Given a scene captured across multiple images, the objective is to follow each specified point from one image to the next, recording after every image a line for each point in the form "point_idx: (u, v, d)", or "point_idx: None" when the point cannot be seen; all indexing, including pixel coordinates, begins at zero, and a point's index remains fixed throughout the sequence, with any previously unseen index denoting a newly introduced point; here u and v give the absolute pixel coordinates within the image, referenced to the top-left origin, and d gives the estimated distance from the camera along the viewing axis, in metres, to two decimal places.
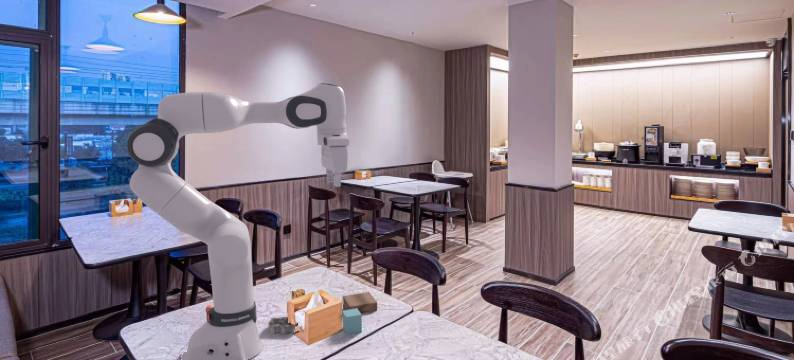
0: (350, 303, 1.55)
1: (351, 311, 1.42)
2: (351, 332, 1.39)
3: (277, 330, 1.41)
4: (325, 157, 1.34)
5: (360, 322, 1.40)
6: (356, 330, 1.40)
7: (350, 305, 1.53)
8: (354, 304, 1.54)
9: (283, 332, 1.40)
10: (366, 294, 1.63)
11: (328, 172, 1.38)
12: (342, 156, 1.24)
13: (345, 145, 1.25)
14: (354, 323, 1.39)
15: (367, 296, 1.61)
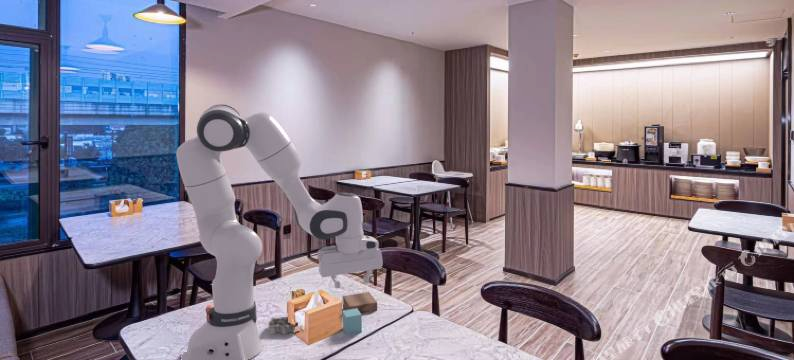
0: (350, 303, 1.55)
1: (351, 311, 1.42)
2: (351, 332, 1.39)
3: (277, 330, 1.41)
4: (344, 263, 1.36)
5: (360, 322, 1.40)
6: (356, 330, 1.40)
7: (350, 305, 1.53)
8: (354, 304, 1.54)
9: (284, 332, 1.40)
10: (366, 294, 1.63)
11: (334, 278, 1.37)
12: None
13: None
14: (354, 323, 1.39)
15: (367, 296, 1.61)
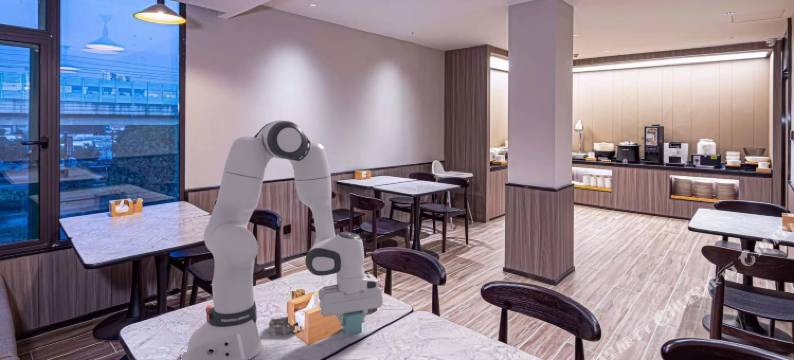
0: None
1: None
2: (351, 332, 1.39)
3: (278, 331, 1.41)
4: (344, 303, 1.38)
5: (360, 322, 1.40)
6: (356, 330, 1.40)
7: None
8: None
9: (284, 332, 1.40)
10: None
11: (339, 317, 1.39)
12: None
13: None
14: (354, 323, 1.39)
15: None
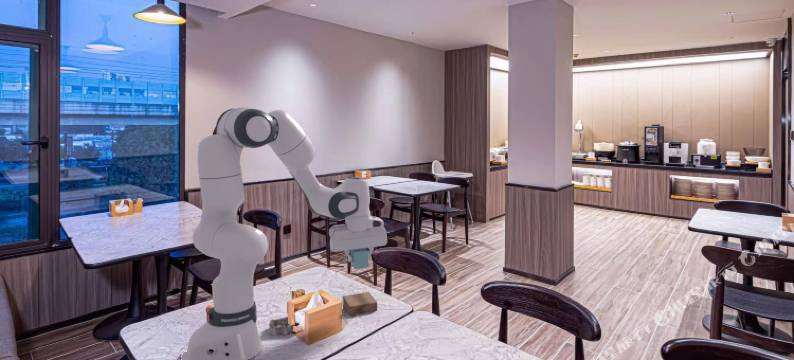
0: (350, 303, 1.55)
1: None
2: (359, 266, 1.53)
3: (278, 331, 1.40)
4: (352, 240, 1.52)
5: (367, 258, 1.54)
6: (363, 265, 1.54)
7: (350, 305, 1.53)
8: (354, 304, 1.54)
9: (285, 332, 1.40)
10: (366, 294, 1.63)
11: None
12: None
13: None
14: (361, 258, 1.53)
15: (367, 296, 1.61)
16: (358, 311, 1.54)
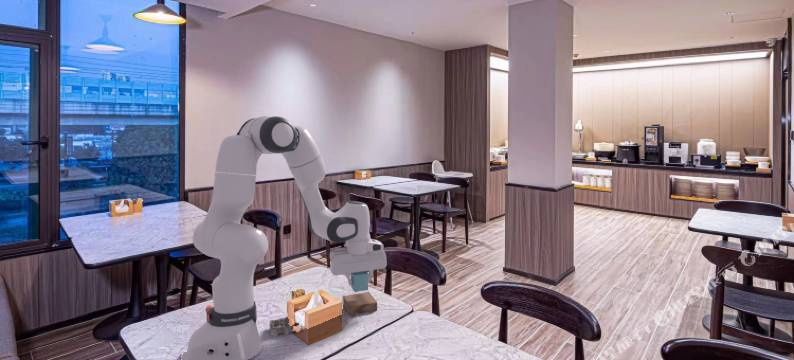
0: (350, 303, 1.55)
1: None
2: (358, 289, 1.56)
3: (279, 331, 1.40)
4: (353, 263, 1.54)
5: (366, 281, 1.56)
6: (363, 288, 1.56)
7: (350, 305, 1.53)
8: (354, 304, 1.54)
9: (286, 333, 1.40)
10: (366, 294, 1.63)
11: None
12: None
13: None
14: (361, 281, 1.55)
15: (367, 296, 1.61)
16: (358, 311, 1.54)
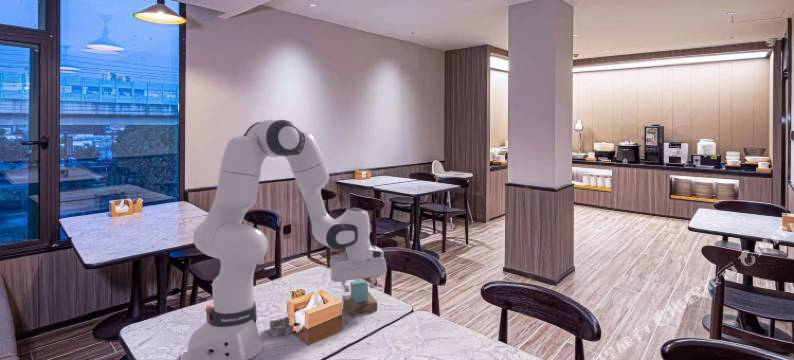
0: (350, 303, 1.55)
1: (359, 282, 1.59)
2: (358, 300, 1.56)
3: (280, 332, 1.40)
4: (353, 270, 1.54)
5: (366, 291, 1.56)
6: (363, 298, 1.56)
7: (350, 305, 1.53)
8: (354, 304, 1.54)
9: (287, 333, 1.40)
10: None
11: None
12: None
13: None
14: (361, 292, 1.56)
15: None
16: (358, 311, 1.54)
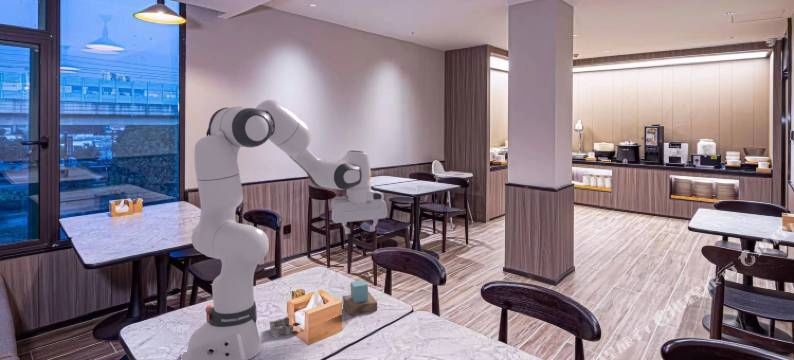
0: (350, 303, 1.55)
1: (359, 282, 1.59)
2: (358, 300, 1.56)
3: (280, 332, 1.40)
4: (353, 212, 1.57)
5: (366, 291, 1.56)
6: (363, 298, 1.56)
7: (350, 305, 1.53)
8: (354, 304, 1.54)
9: (288, 333, 1.40)
10: None
11: None
12: None
13: None
14: (361, 292, 1.56)
15: None
16: (358, 311, 1.54)
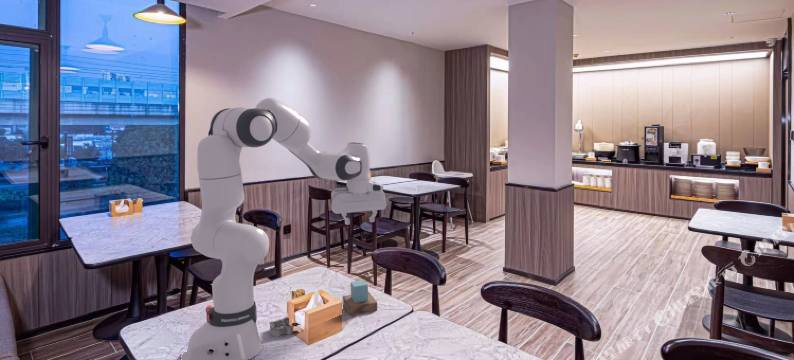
0: (350, 303, 1.55)
1: (359, 282, 1.59)
2: (358, 300, 1.56)
3: (281, 332, 1.40)
4: (353, 203, 1.60)
5: (366, 291, 1.56)
6: (363, 298, 1.56)
7: (350, 305, 1.53)
8: (354, 304, 1.54)
9: (289, 333, 1.40)
10: None
11: None
12: None
13: None
14: (361, 292, 1.56)
15: None
16: (358, 311, 1.54)
